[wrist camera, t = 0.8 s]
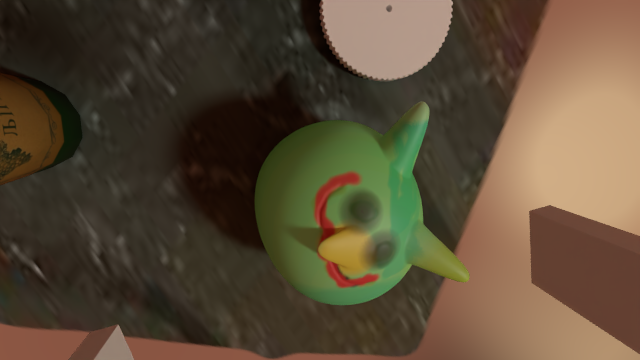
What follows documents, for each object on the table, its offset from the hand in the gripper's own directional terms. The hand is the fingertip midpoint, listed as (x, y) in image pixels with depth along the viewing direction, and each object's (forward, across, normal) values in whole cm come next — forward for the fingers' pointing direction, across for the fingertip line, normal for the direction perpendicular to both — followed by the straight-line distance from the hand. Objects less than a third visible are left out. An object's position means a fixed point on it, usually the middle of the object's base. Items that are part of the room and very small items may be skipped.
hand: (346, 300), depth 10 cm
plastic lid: (+27, +13, +13) cm, 33 cm away
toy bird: (+27, +4, -5) cm, 28 cm away
